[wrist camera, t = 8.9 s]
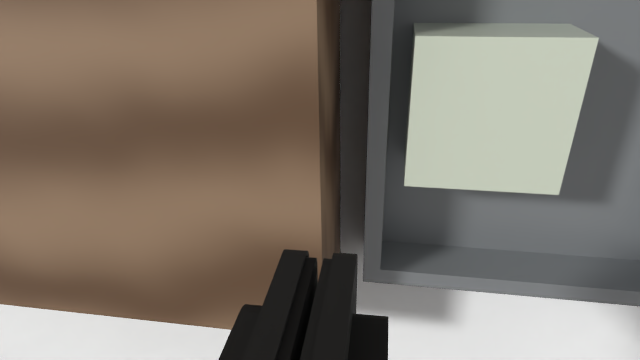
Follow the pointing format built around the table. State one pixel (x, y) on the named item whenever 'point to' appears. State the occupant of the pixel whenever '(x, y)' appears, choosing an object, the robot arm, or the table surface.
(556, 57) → the tile
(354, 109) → the table surface
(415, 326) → the table surface
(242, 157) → the brown slab
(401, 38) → the bin
